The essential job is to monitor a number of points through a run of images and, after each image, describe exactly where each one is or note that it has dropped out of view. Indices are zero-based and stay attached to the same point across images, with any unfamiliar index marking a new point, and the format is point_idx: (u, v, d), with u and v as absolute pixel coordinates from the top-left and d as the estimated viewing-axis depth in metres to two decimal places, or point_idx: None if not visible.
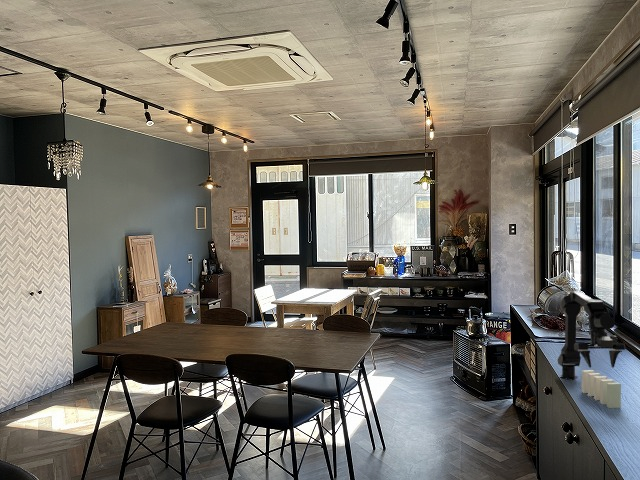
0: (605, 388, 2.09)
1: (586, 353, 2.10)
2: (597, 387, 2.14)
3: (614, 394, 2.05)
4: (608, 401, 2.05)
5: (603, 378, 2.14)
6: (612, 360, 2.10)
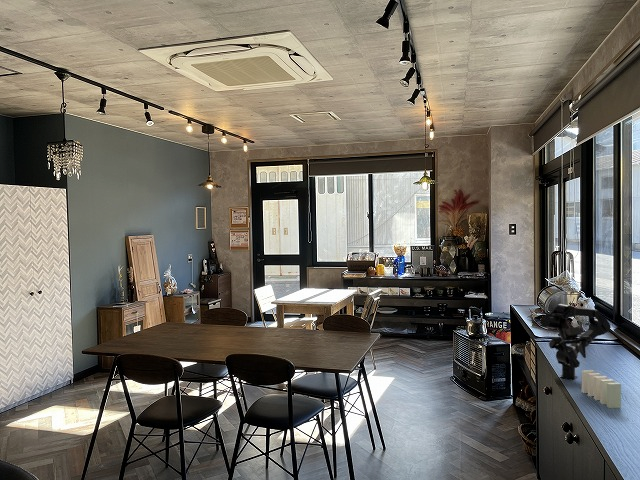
0: (605, 388, 2.09)
1: (563, 345, 2.32)
2: (597, 387, 2.14)
3: (614, 394, 2.05)
4: (608, 401, 2.05)
5: (603, 378, 2.14)
6: (582, 351, 2.32)
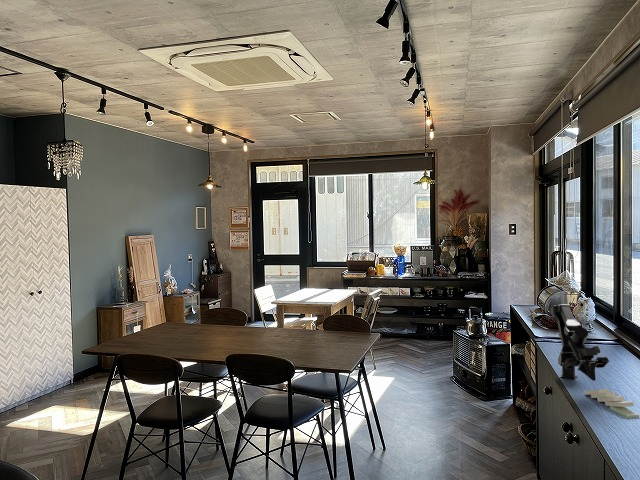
0: None
1: (586, 366, 2.21)
2: None
3: None
4: None
5: (620, 400, 2.04)
6: None
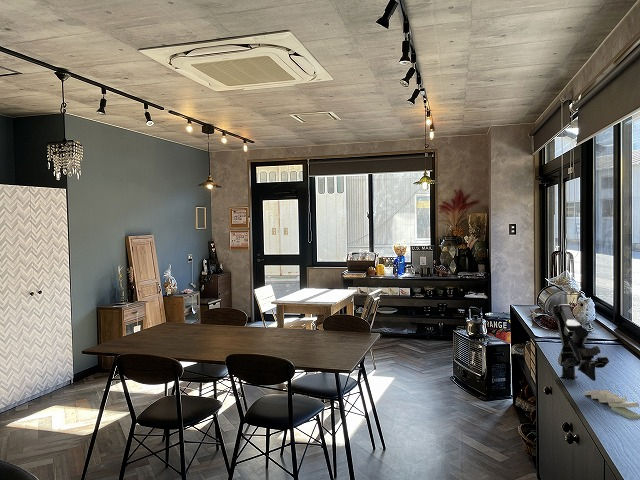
0: (624, 406, 2.00)
1: (586, 366, 2.21)
2: None
3: None
4: None
5: (622, 401, 2.03)
6: None
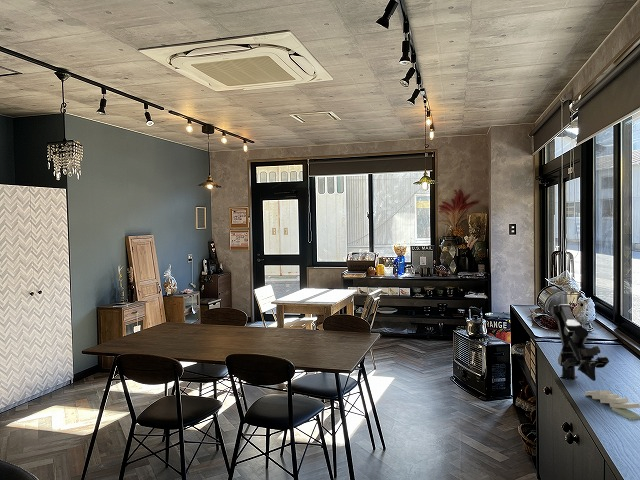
0: (625, 407, 2.00)
1: (586, 366, 2.21)
2: None
3: None
4: None
5: (624, 402, 2.03)
6: None
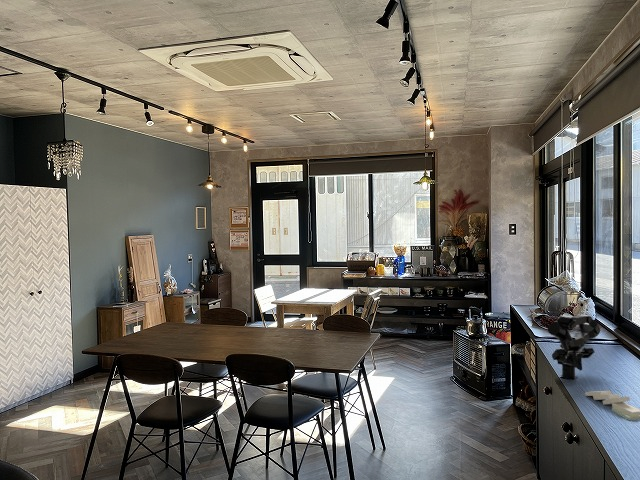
0: None
1: (573, 356, 2.31)
2: (613, 402, 2.04)
3: None
4: None
5: (625, 401, 2.01)
6: None
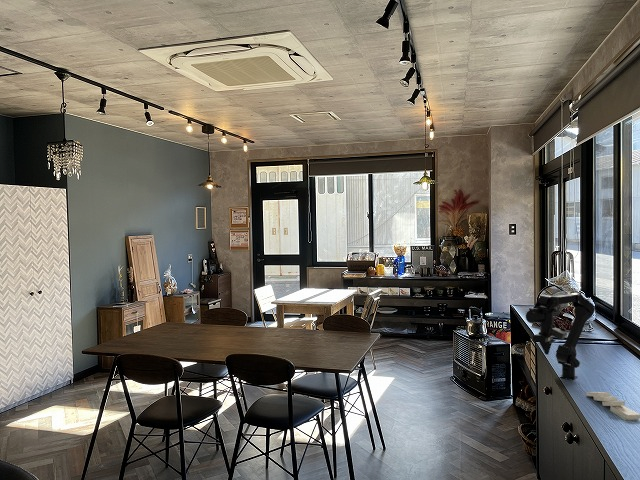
0: None
1: (549, 343, 2.36)
2: (609, 405, 2.03)
3: None
4: None
5: (620, 405, 1.99)
6: None
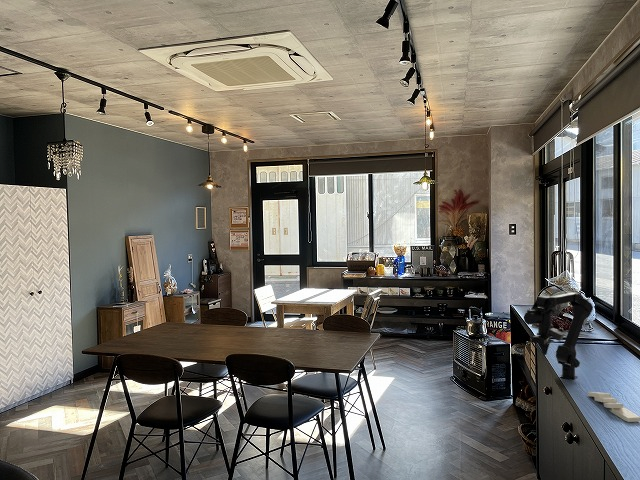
0: None
1: (547, 344, 2.36)
2: (608, 407, 2.01)
3: None
4: None
5: (618, 407, 1.97)
6: None
